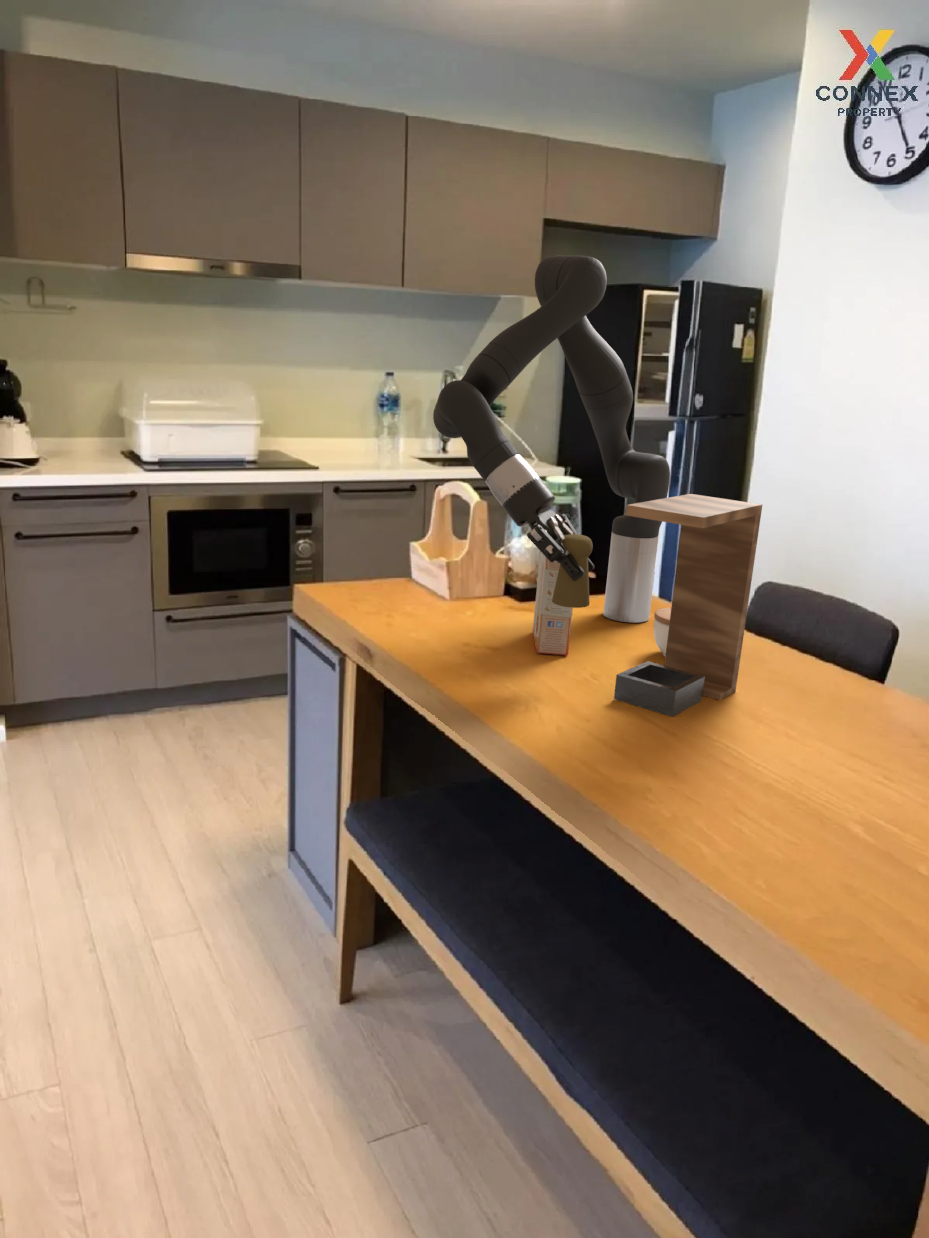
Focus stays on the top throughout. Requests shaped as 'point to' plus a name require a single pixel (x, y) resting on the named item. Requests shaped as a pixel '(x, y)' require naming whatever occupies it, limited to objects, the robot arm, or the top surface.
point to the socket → (659, 688)
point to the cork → (566, 588)
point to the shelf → (708, 584)
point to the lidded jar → (662, 628)
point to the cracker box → (550, 613)
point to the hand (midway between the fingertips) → (584, 574)
